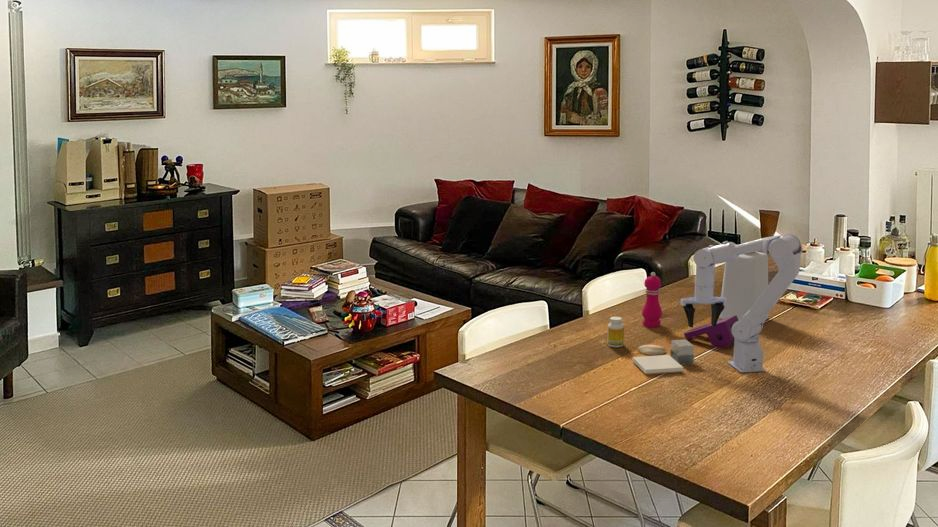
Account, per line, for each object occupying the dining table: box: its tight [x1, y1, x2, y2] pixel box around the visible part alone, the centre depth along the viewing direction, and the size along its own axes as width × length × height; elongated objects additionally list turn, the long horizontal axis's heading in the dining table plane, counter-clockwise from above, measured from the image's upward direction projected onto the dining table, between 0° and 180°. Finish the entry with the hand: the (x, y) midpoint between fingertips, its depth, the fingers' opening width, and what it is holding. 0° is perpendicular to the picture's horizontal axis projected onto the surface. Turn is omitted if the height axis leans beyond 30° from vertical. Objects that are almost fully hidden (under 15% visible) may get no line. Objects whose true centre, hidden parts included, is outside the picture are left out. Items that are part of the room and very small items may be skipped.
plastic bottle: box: [719, 251, 770, 321], centre depth 301 cm, size 15×15×28 cm
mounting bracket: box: [683, 315, 739, 349], centre depth 278 cm, size 9×8×18 cm
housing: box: [669, 338, 695, 366], centre depth 260 cm, size 7×5×6 cm
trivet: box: [632, 354, 684, 376], centre depth 254 cm, size 12×12×2 cm
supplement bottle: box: [606, 316, 625, 348], centre depth 276 cm, size 5×5×10 cm
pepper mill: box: [641, 271, 663, 328], centre depth 296 cm, size 7×7×20 cm
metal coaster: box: [637, 344, 667, 356], centre depth 270 cm, size 9×9×1 cm
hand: (702, 326), depth 261 cm, fingers open, 7 cm apart
